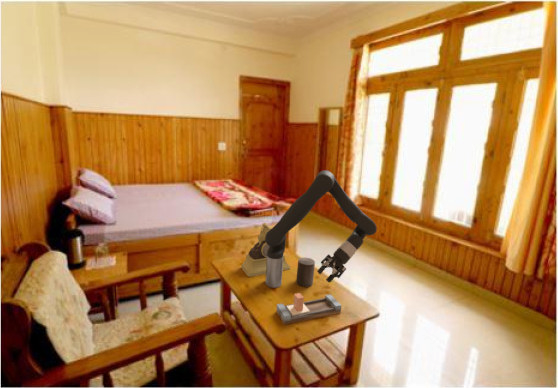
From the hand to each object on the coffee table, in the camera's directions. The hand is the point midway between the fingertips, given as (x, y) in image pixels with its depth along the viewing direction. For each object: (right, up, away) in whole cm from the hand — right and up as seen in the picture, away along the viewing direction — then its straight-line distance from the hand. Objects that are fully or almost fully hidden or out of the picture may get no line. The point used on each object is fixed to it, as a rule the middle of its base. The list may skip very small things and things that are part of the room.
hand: (322, 277), depth 142 cm
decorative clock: (-30, -7, +44) cm, 53 cm away
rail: (-7, -18, +2) cm, 19 cm away
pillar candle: (-6, -12, +29) cm, 32 cm away
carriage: (-12, -16, -1) cm, 20 cm away
